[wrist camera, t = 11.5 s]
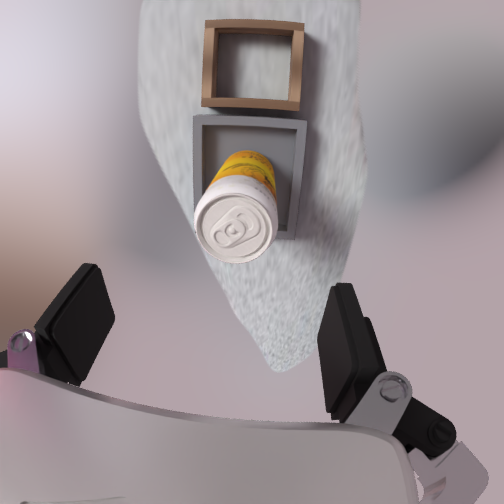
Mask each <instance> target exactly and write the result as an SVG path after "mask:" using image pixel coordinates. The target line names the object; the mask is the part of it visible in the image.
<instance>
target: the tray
mask: <svg viewBox="0 0 504 504" xmlns="http://www.w3.org/2000/svg"><path fill="white" fill-rule="evenodd" d="M306 132H307V121H306V120H303V119H293V118H282V117H269V116H251V115H195V116H193V189H194V213H195V209H196V207H197V204H198V203H199V201H200V199H201V198H202V196H203V195H204V193H205V191H206V190H207V188H208V187H209V185H210V184H211V182H212V181H213V179H214V178H215V176H216V174H217V173H218V171H219V170H220V168H221V167H222V165H223V164H224V162H225V161H226V160H227V159H228V158H229V157H230V156H231V155H233V154H234V153H236V152H239V151H245V150H250V151H255V152H258V153H260V154H262V155H263V156H265V157H266V158H267V159H268V160H269V162H270V163H271V165H272V167H273V170H274V177H275V188H276V201H277V213H278V230H277V234H276V237H275V238H278V239H292V240H295V232H296V225H297V217H298V208H299V200H300V191H301V182H302V173H303V163H304V153H305V143H306ZM195 233H196V231H195Z"/></svg>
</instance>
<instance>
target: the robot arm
mask: <svg viewBox="0 0 504 504" xmlns="http://www.w3.org/2000/svg"><path fill="white" fill-rule="evenodd" d="M114 321H115V314H114V311H113V308H112V305H111V302H110V299H109V296H108V293H107V289H106V286H105V283H104V279H103V276H102V272H101V269H100V268H98V266H97V265H96V264H89V263H84V264H82V265H81V267H80V268H79V269H78V270H77V271H76V272H75V274H74V275H73V276H72V278H70V280H69V281H68V282H67V283H66V285H65V286H64V287H63V289H62V290H61V291H60V292H59V293H58V295H57V296H56V297H55V299H54V300H53V301H52V302H51V304H50V305H49V306H48V308H47V309H46V311H45V312H44V313H43V315H42V316H41V317H40V319H39V320H38V322H37V323H36V324H35V326H34V327H35V329H36V331H35V333H33V332H32V331H31V330H29V329H23V330H19V331H17V332H16V333H14V334H13V335H12V336H11V338H10V339H9V341H8V346H7V347H8V349H7V350H6V351H3V352H0V504H474V503H475V501H476V500H477V498H479V496H480V495H481V494H482V493H483V491H484V490H485V488H486V486H487V484H488V480H489V477H488V472H487V470H486V469H485V468H484V467H483V465H482V464H481V463H480V462H479V461H478V459H477V458H476V457H475V456H474V455H473V454H472V452H471V451H470V450H469V449H468V448H467V447H466V446H465V445H464V444H463V442H462V441H461V442H459V443H458V441H457V440H456V430H455V427H454V425H453V424H452V422H451V421H449V420H448V419H447V418H445V417H444V416H442V415H440V414H439V413H437V412H435V411H434V410H432V409H431V408H429V407H428V406H426V405H424V404H423V403H421V402H420V401H418V400H416V399H415V398H413V397H412V386H411V384H410V382H409V381H408V379H407V378H406V377H404V376H403V375H402V374H400V373H397V372H392V371H388V372H387V369H386V366H385V363H384V359H383V356H382V353H381V350H380V347H379V344H378V341H377V338H376V335H375V332H374V329H373V326H372V323H371V321H370V319H369V318H368V317H363V314H362V311H361V308H360V305H359V302H358V299H357V296H356V294H355V291H354V288H353V285H352V284H351V283H337V284H336V286H332V287H331V289H330V293H329V296H328V300H327V304H326V308H325V311H324V315H323V318H322V322H321V325H320V329H319V332H318V337H317V343H318V350H319V357H320V364H321V372H322V380H323V389H324V397H325V406H326V412H327V413H331V419H332V420H339V421H340V423H319V422H318V423H316V422H274V421H255V420H241V419H230V418H220V417H211V416H203V415H197V414H190V413H184V412H177V411H172V410H166V409H160V408H156V407H151V406H146V405H142V404H137V403H133V402H129V401H125V400H121V399H117V398H113V397H109V396H106V395H102V394H99V393H95V392H92V391H89V390H85V389H82V388H79V387H80V384H81V382H82V381H84V380H85V379H86V377H87V375H88V373H89V371H90V369H91V367H92V365H93V363H94V361H95V359H96V357H97V355H98V353H99V351H100V349H101V347H102V345H103V343H104V341H105V339H106V337H107V335H108V333H109V331H110V329H111V328H112V325H113V323H114ZM68 382H69V384H67V383H68ZM70 384H72V385H70ZM73 385H75V386H73ZM76 386H78V387H76ZM413 470H414V471H415V472H416V473H417V475H418V476H419V478H418V480H419V481H420V482H421V484H422V486H423V488H424V495H423V498H422V500H421V501H420V502H419V498H418V491H417V485H416V481H415V476H414V472H413Z"/></svg>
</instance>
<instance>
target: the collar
mask: <svg viewBox="0 0 504 504" xmlns="http://www.w3.org/2000/svg"><path fill="white" fill-rule="evenodd" d="M219 34H269V35H283V36H292V43H291V61H290V78H289V93H288V101H284V100H271V99H253V98H216V87H217V64H218V45H219ZM303 44H304V23H297V22H287V21H275V20H254V19H222V20H205V33H204V50H203V71H202V101H201V107H247V108H266V109H280V110H291V111H299V107H300V93H301V78H302V62H303Z"/></svg>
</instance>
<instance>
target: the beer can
mask: <svg viewBox="0 0 504 504" xmlns="http://www.w3.org/2000/svg"><path fill="white" fill-rule="evenodd" d="M194 227H195V231H196V234H197V237H198V240H199V242H200V244H201V246H202V247H203V248H204V250H205V251H206V252H207V253H208V254H210V255H211V256H212V257H214V258H216V259H218V260H220V261H223V262H226V263H233V264H240V263H246V262H249V261H252V260H254V259H256V258H257V257H259V256H260V255H262V254H263V253H264V252H265V250H267V248H268V247H269V246H270V245H271V244H272V242H273V241H274V239H275V237H276V234H277V230H278V213H277V201H276V188H275V177H274V170H273V167H272V165H271V163H270V162H269V160H268V159H267V158H266V157H265V156H263V155H262V154H260V153H258V152H255V151H250V150H245V151H239V152H236V153H234V154H233V155H231V156H230V157H229V158H228V159H227V160H226V161H225V162H224V164H223V165H222V167H221V168H220V170H219V171H218V173H217V174H216V176H215V178H214V179H213V181H212V182H211V184H210V185H209V187H208V188H207V190H206V191H205V193H204V195H203V196H202V198H201V199H200V201H199V203H198V204H197V207H196V209H195V213H194Z"/></svg>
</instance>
